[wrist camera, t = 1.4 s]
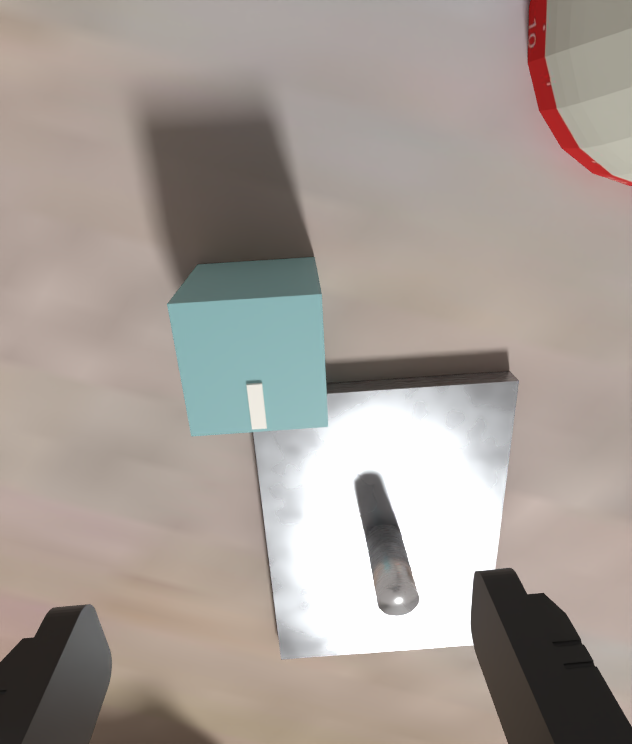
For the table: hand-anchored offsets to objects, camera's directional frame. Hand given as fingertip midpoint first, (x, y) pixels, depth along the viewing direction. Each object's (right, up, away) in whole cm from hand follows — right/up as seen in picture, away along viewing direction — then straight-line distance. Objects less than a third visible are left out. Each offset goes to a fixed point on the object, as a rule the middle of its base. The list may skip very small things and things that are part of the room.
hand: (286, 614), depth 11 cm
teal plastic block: (-2, +8, +15) cm, 17 cm away
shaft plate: (+5, -4, +21) cm, 22 cm away
